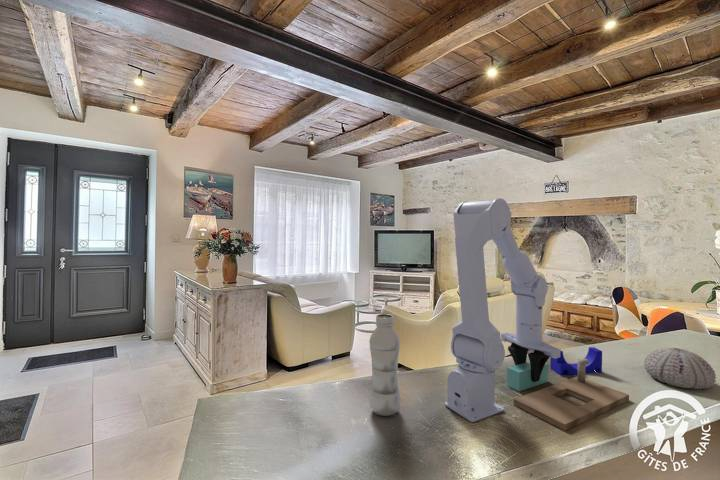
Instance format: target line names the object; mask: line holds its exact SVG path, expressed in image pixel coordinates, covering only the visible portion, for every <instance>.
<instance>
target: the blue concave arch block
mask: <svg viewBox="0 0 720 480" xmlns="http://www.w3.org/2000/svg"><path fill="white" fill-rule="evenodd" d="M584 359H588V360H589V364H586V365H585V374H601V373H603V351H602V350H601V349H598V348H596V347H595V346H592V347H591V346H590V347H588V351H587V354H586V355H585V357H584V358H583V359H582V360H584ZM549 368H550V370H551V371H553V372H554V373H556V374H557V375H559V376H560V377H562V376H561V375H577V371H578V362H575V363H570V362H567V360H566V359H565V357H564V352H563V351H562V350H561V349H560V358H556V359H554V358H551V357H550V367H549ZM594 370H595V371H596V372H598V373H596V372H595V371H594Z"/></svg>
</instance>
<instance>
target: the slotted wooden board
mask: <svg viewBox="0 0 720 480" xmlns="http://www.w3.org/2000/svg"><path fill="white" fill-rule="evenodd" d="M583 359H584V358H583ZM583 359H581V358H580V359H577V363H578V371H577V376H574V377H572V378H568V379H566V380H564V381H561V382H558V383H555V384H551V385H550V386H547V387H543V388H540V389H538V390H535V391H533V392H530V393H527V394H524V395H521V396H518V397H516V398H513V406H516V407H518V408H520V409H522V410H523V411H525V412H527V413H529V414H531V415H533V416H535V417H537V418H540V419H541V420H543V421H545V422H547V423H549V424H551V425H552V426H555V427H557V428H558V429H561V430H563V431H567V430H570V429H572V428H574V427H576V426H578V425H581V424H583V423H585V422H586V421H588V420H590V419H592V418H595V417H596V416H599V415H601V414H603V413H605V412H607V411H610V410H611V409H614V408H616V407H618V406H619V405H621V404H624V403H626V402H629V401H630V394H627V393H624V392H623V391H619V390H616V389H613V388H611V387H609V386H605V385H603V384H599V383H597V382H594V381H591V380H588V379H586V373H585V365H586V364H589V360H588V359H584V360H583ZM564 395H569V396H571V397H574V398H576V399H579V400H581V401H584V402H586V403H583V404H581V405H575V404H573V403H571V402H569V401H567V400H565V399H562V398H560V397H561V396H564Z"/></svg>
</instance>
